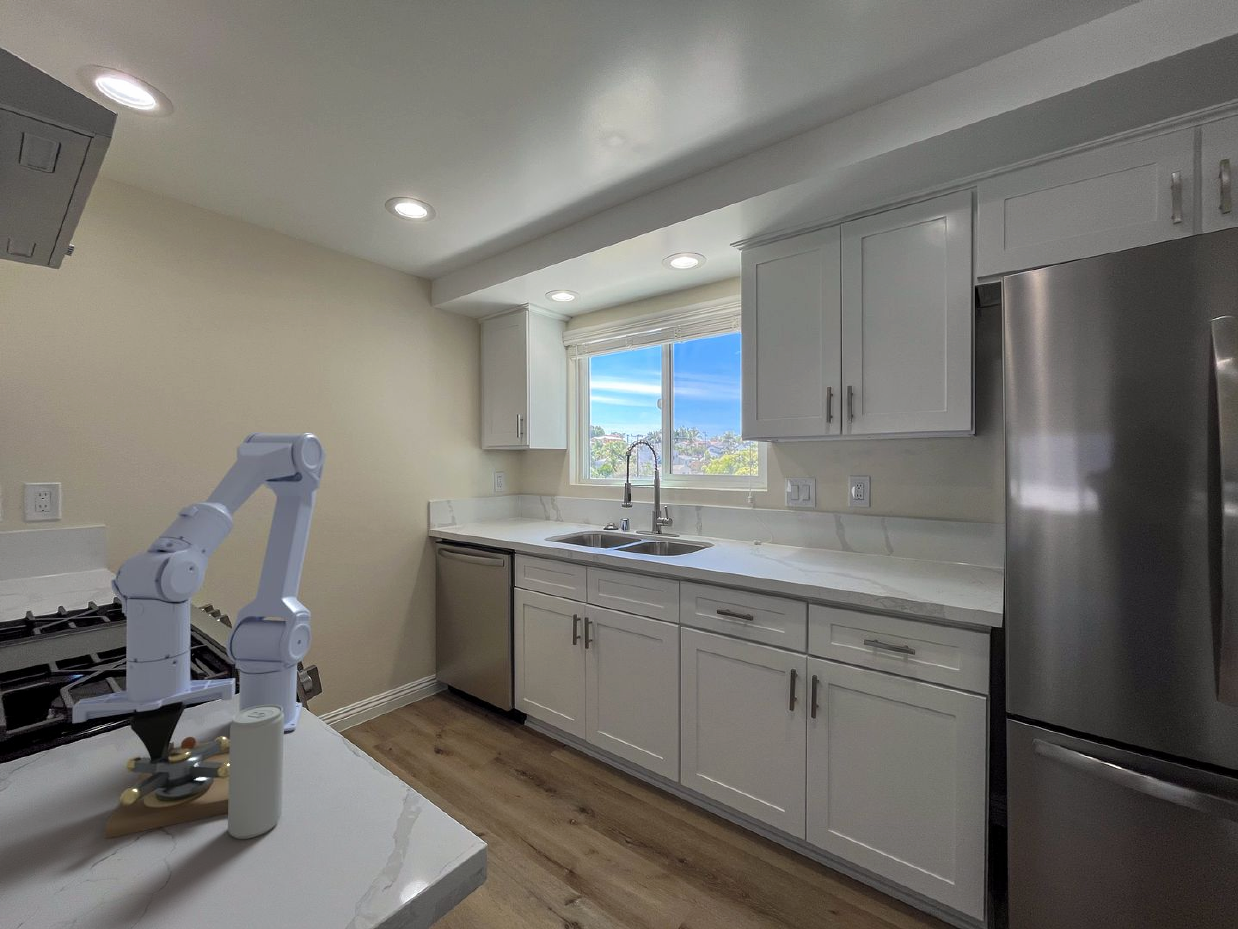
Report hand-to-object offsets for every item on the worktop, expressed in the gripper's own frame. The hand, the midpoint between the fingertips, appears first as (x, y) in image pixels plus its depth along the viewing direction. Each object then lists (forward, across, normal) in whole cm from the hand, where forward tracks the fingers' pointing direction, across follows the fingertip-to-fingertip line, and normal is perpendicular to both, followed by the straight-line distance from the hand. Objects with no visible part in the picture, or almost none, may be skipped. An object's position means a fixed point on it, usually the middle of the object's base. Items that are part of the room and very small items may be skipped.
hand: (158, 769), depth 63 cm
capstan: (+1, +3, -4) cm, 5 cm away
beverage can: (+3, +11, -12) cm, 17 cm away
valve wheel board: (+3, +4, 0) cm, 5 cm away
